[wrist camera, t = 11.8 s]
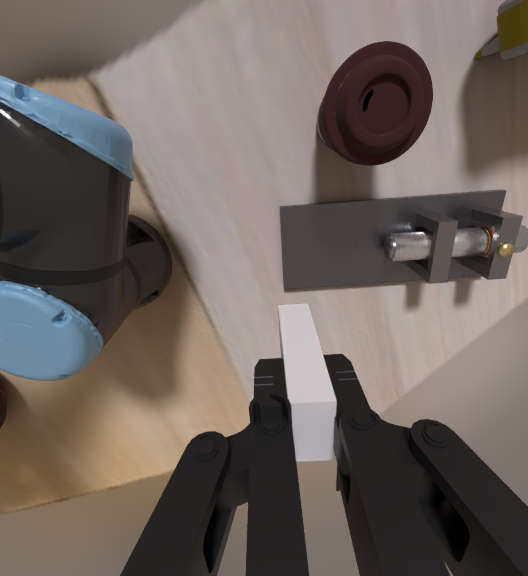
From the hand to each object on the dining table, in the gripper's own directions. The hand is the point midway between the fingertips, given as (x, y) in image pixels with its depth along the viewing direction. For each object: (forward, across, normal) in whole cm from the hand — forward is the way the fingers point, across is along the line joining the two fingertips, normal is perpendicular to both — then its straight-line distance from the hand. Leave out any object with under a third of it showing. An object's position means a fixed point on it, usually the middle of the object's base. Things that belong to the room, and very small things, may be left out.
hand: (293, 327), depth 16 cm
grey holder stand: (+32, +17, -6) cm, 37 cm away
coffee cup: (+32, +10, +11) cm, 36 cm away
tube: (+31, +26, -6) cm, 41 cm away
